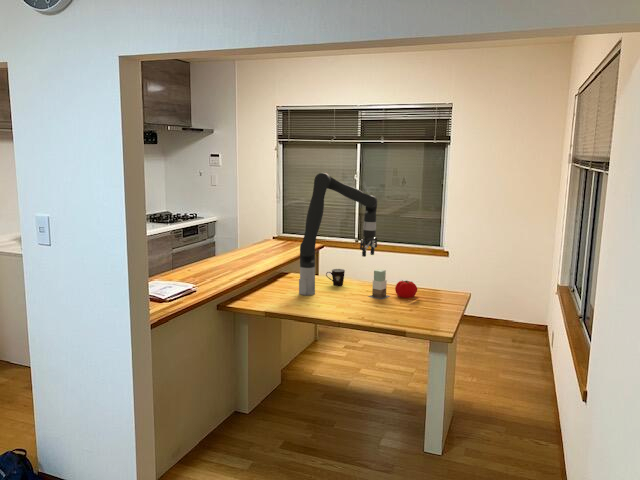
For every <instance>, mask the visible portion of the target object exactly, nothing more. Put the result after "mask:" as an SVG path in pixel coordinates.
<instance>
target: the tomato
mask: <svg viewBox="0 0 640 480" xmlns="http://www.w3.org/2000/svg"><path fill="white" fill-rule="evenodd" d="M394 291H395V294H396V295H397V296H398V297H399V298H403V299H410V298H413V297H415V295H416V294H417V292H418V287H417V285H416V284H415V283H414V282H413V281H410V280H403V279H401V280H400V281H398V282H397V283H396V284H395V288H394Z"/></svg>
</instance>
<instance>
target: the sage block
mask: <svg viewBox="0 0 640 480" xmlns="http://www.w3.org/2000/svg"><path fill="white" fill-rule="evenodd" d="M386 272H387V271H386V270H384V269H381V268H379V269H375V270H373V280H374V281H380V282H381V281H384V280H386V276H387V275H386V274H387V273H386Z"/></svg>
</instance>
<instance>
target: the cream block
mask: <svg viewBox="0 0 640 480" xmlns="http://www.w3.org/2000/svg"><path fill="white" fill-rule="evenodd" d="M387 281H388V279H385V280H384V281H381V282H380V281H374V279H372V289H378V290H383V289H386V290H387V285H388V283H387Z"/></svg>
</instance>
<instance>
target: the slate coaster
mask: <svg viewBox="0 0 640 480" xmlns="http://www.w3.org/2000/svg"><path fill="white" fill-rule="evenodd" d="M367 298H371V299H376V300H385V299H388V298H391V295H387V294H386V297H383V298H377V297H372V294H371V295H368V296H367Z"/></svg>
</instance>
